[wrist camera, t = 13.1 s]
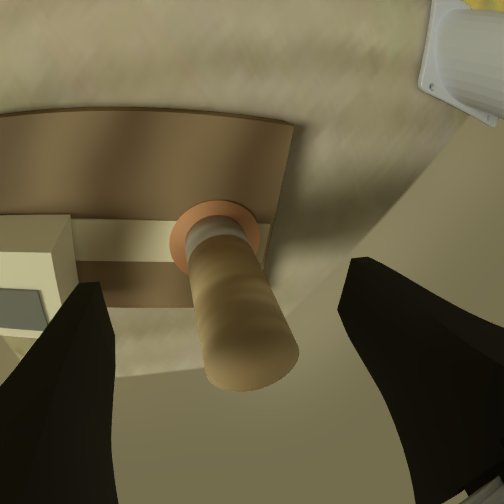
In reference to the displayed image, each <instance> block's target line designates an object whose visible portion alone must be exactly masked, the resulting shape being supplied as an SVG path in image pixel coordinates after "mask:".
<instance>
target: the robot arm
mask: <svg viewBox="0 0 504 504" xmlns="http://www.w3.org/2000/svg"><path fill="white" fill-rule="evenodd" d="M430 85H431V89H430V88H429V86H430ZM418 87H419V89H420V90H421V91H423V92H425V93H427V94H429V95H431V96H434V97H436V98H438V99H440V100H442V101H444V102H446V103H448V104H450V105H452V106H454V107H456V108H458V109H460V110H462V111H463V112H465V113H467V114H469V115H471V116H473V117H474V118H477V119H478V120H480V121H482V122H483V123H485V124H487V125H488V126H490V127H493V128H494V127H496V125H497V122H498V118H502V119H504V12H503V11H492V10H476V9H472V8H471V7H469V6H468V5H467V4H465V3H464V2H463V1H462V0H432V5H431V12H430V19H429V25H428V32H427V38H426V44H425V49H424V54H423V60H422V65H421V70H420V75H419V79H418ZM337 310H338V313H339V315H340V317H341V320H342V323H343V325H344V327H345V330H346V332H347V334H348V337H349V338H350V340H351V342H352V344H353V345H354V347H355V349H356V351H357V352H358V354H359V356H360V357H361V359H362V361H363V363H364V364H365V366H366V367H367V369H368V371H369V373H370V374H371V376H372V378H373V379H374V381H375V383H376V385H377V387H378V388H379V390H380V392H381V394H382V396H383V398H384V400H385V402H386V404H387V406H388V409H389V411H390V414H391V416H392V419H393V421H394V424H395V426H396V429H397V432H398V435H399V437H400V440H401V443H402V446H403V449H404V453H405V456H406V460H407V463H408V467H409V471H410V475H411V480H412V485H413V490H414V496H415V502H416V504H442V503H444V502H445V501H447V500H449V499H451V498H452V497H454V496H455V495H457V494H459V493H460V492H462V491H463V490H464V489H465V491H466V493H467V494H468V496H469V497H468V498H466V499H465V500H464V501H462V502H461V503H459V504H504V328H503V327H500V326H498V325H495V324H493V323H490V322H488V321H486V320H484V319H482V318H479V317H477V316H475V315H473V314H471V313H468V312H467V311H465V310H463V309H461V308H459V307H457V306H455V305H453V304H452V303H450V302H448V301H446V300H444V299H442V298H441V297H439V296H437V295H435V294H434V293H432V292H430V291H428V290H427V289H425V288H423V287H422V286H420V285H418V284H416V283H415V282H413V281H411V280H410V279H408V278H406V277H405V276H403V275H401V274H400V273H398V272H396V271H394V270H393V269H391V268H389V267H387V266H385V265H384V264H382V263H380V262H378V261H376V260H374V259H372V258H369V257H361V258H352V259H351V261H350V265H349V269H348V273H347V277H346V280H345V284H344V288H343V291H342V295H341V298H340V302H339V305H338V309H337ZM114 380H115V334H114V331H113V328H112V324H111V321H110V318H109V314H108V311H107V307H106V304H105V300H104V296H103V293H102V289H101V285H100V281H98V282H85V283H78V285H77V286H76V287H75V288H74V290H73V291H72V292H71V294H70V295H69V296H68V298H67V299H66V300H65V302H64V303H63V304H62V306H61V307H60V309H59V310H58V311H57V313H56V314H55V316H54V317H53V318H52V320H51V321H50V323H49V324H48V325H47V327H46V328H45V329H44V331H43V332H42V334H41V335H40V336H39V338H38V339H37V340H36V342H35V343H34V344H33V346H32V347H31V348H30V350H29V351H28V352H27V354H26V355H25V356H24V358H23V359H22V360H21V362H20V363H19V364H18V366H17V367H16V368H15V369H14V371H13V372H12V373H11V374H10V376H9V377H8V378H7V379H6V380H5V382H4V383H3V384H2V385H1V386H0V504H118V498H117V492H116V486H115V479H114V471H113V462H112V452H111V425H112V407H113V392H114Z"/></svg>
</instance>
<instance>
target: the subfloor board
mask: <svg viewBox="0 0 504 504" xmlns="http://www.w3.org/2000/svg"><path fill="white" fill-rule="evenodd" d="M293 130H294V126H293V125H291V124H289V123H287V122H285V121H282V120H275V119H269V118H262V117H254V116H247V115H239V114H230V113H221V112H210V111H199V110H186V109H170V108H147V107H82V108H60V109H45V110H33V111H23V112H14V113H5V114H0V215H70V217H71V228H72V237H73V246H74V254H75V261H76V268H77V275H78V281H79V283H85V282H98V281H100V285H101V289H102V293H103V296H104V300H105V304H106V307H122V308H193V307H194V304H193V298H192V291H191V285H190V279H189V272H188V265H187V258H186V251H185V238H186V235H187V233H188V231H189V230H190V228H191V227H192V226H193V225H194V224H195V223H196V222H197V221H199V220H201V219H203V218H205V217H208V216H212V215H223V216H228V217H230V218H232V219H234V220H236V221H237V222H238V223H239V224H240V225H241V226H242V228H243V230H244V232H245V234H246V236H247V238H248V241H249V243H250V245H251V247H252V249H253V251H254V253H255V255H256V258H257V260H258V262H259V264H260V266H261V268H262V270H263V269H264V264H265V260H266V255H267V251H268V246H269V242H270V237H271V233H272V228H273V223H274V219H275V214H276V210H277V205H278V200H279V196H280V191H281V187H282V182H283V177H284V173H285V168H286V163H287V158H288V154H289V149H290V144H291V140H292V135H293Z"/></svg>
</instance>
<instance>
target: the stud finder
mask: <svg viewBox="0 0 504 504" xmlns="http://www.w3.org/2000/svg"><path fill="white" fill-rule="evenodd" d="M78 283H79V281H78V275H77V268H76V261H75V254H74V246H73V237H72V228H71V217H70V215H0V335H6V336H16V337H28V338H39V336H40V335H41V334H42V332H43V331H44V329H45V328H46V327H47V325H48V324H49V323H50V321H51V320H52V318H53V317H54V316H55V314H56V313H57V311H58V310H59V309H60V307H61V306H62V304H63V303H64V302H65V300H66V299H67V298H68V296H69V295H70V294H71V292H72V291H73V290H74V288H75V287H76V286H77V285H78Z"/></svg>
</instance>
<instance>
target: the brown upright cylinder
mask: <svg viewBox="0 0 504 504" xmlns="http://www.w3.org/2000/svg"><path fill="white" fill-rule="evenodd" d="M185 251H186V258H187V265H188V272H189V279H190V285H191V291H192V298H193V304H194V310H195V316H196V322H197V328H198V333H199V339H200V344H201V350H202V355H203V360H204V366H205V370H206V375H207V378H208V379H209V381H210V382H211V383H212V384H213V385H215V386H216V387H218V388H220V389H223V390H227V391H233V392H244V391H252V390H257V389H261V388H263V387H266V386H269V385H271V384H273V383H275V382H277V381H278V380H280V379H282V378H283V377H284V376H285V375H287V374H288V373H289V372H290V371H291V370H292V369H293V367H294V366H295V364H296V362H297V360H298V357H299V348H298V345H297V343H296V341H295V339H294V336H293V334H292V332H291V330H290V328H289V326H288V324H287V322H286V319H285V317H284V315H283V313H282V311H281V309H280V307H279V304H278V302H277V300H276V298H275V296H274V294H273V292H272V290H271V287H270V285H269V283H268V281H267V279H266V277H265V275H264V272H263V270H262V268H261V266H260V264H259V262H258V260H257V258H256V255H255V253H254V251H253V249H252V247H251V245H250V243H249V241H248V238H247V236H246V234H245V232H244V230H243V228H242V226H241V225H240V224H239V223H238V222H237V221H236V220H234V219H232V218H230V217H228V216H223V215H212V216H208V217H205V218H203V219H201V220H199V221H197V222H196V223H195V224H194V225H193V226H192V227H191V228H190V230H189V231H188V233H187V235H186V238H185Z"/></svg>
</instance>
